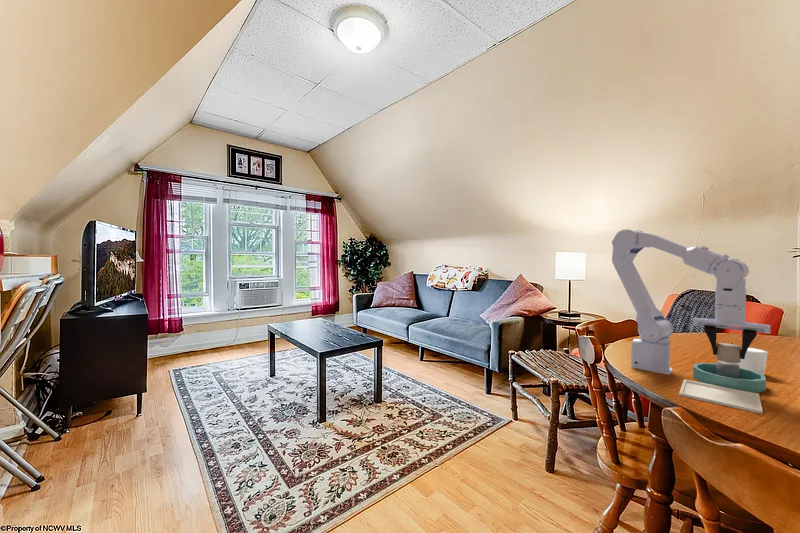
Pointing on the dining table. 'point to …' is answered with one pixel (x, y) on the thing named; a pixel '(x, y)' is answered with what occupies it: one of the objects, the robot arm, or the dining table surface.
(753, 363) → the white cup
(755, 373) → the bowl
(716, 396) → the parts tray
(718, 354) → the brown stone
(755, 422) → the dining table surface
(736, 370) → the charcoal stone
